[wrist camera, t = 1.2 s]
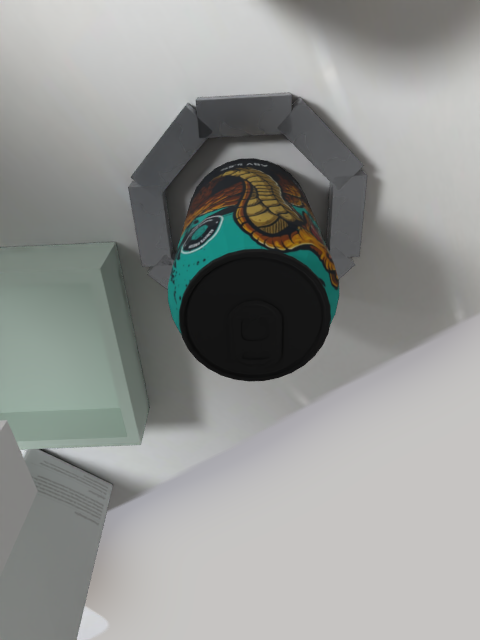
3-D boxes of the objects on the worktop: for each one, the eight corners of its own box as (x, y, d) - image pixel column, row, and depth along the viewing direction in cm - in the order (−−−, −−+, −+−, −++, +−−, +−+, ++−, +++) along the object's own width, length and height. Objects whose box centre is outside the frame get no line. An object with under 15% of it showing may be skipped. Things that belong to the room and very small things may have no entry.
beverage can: (309, 153, 26) (357, 230, 15) (305, 267, 29) (341, 391, 19) (183, 157, 26) (148, 238, 16) (194, 271, 29) (172, 396, 19)
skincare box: (-4, 480, 40) (-124, 702, 27) (33, 439, 37) (-80, 662, 24) (81, 519, 43) (11, 737, 30) (120, 483, 40) (63, 704, 27)
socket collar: (155, 315, 31) (152, 324, 30) (118, 101, 24) (113, 104, 23) (350, 306, 31) (353, 315, 30) (369, 88, 24) (375, 90, 23)
